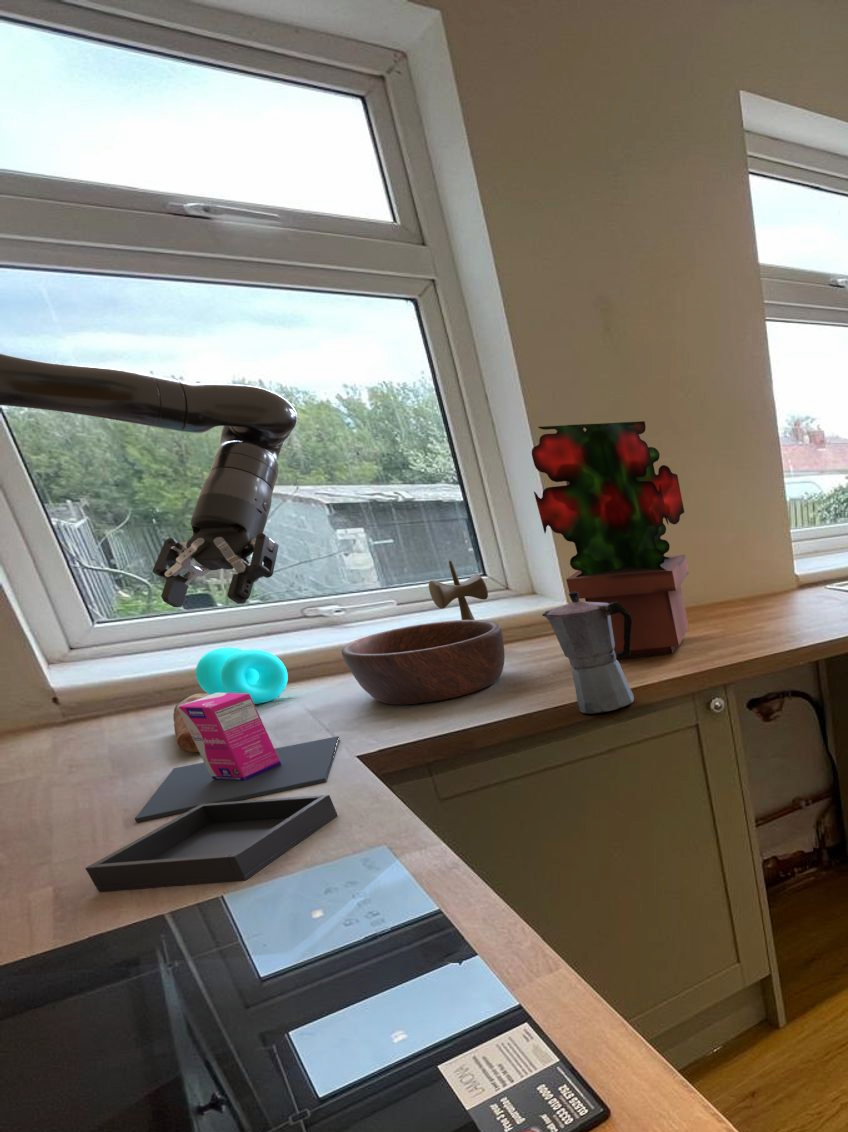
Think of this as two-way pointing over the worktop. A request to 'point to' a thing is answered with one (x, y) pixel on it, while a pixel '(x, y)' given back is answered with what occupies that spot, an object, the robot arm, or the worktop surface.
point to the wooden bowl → (427, 661)
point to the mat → (199, 787)
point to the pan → (213, 843)
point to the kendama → (458, 592)
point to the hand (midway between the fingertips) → (203, 602)
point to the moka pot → (593, 652)
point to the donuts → (242, 673)
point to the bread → (181, 729)
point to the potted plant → (617, 527)
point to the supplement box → (230, 735)
